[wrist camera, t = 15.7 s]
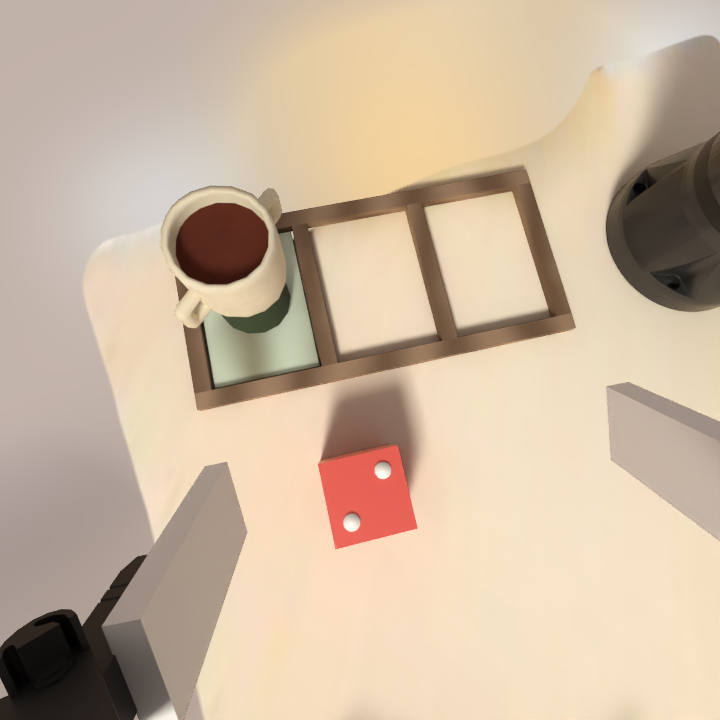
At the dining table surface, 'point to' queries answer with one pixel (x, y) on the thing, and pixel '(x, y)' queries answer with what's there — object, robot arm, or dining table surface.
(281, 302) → the character mug
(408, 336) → the dining table surface
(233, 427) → the dining table surface
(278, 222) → the game track
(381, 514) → the red die
